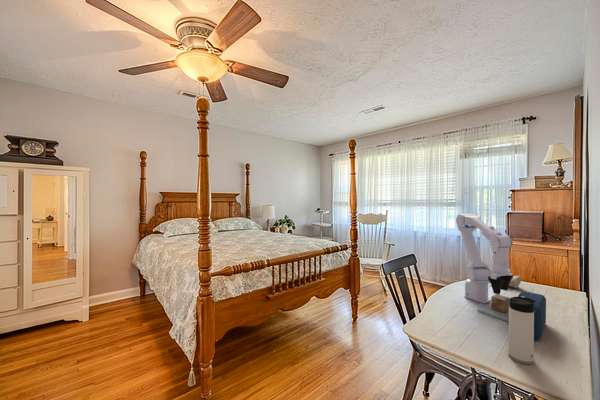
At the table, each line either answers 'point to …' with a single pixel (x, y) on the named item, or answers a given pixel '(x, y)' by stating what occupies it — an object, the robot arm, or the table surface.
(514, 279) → the ceramic sculpture
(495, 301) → the walnut block
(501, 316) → the board
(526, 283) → the table surface
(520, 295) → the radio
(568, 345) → the table surface
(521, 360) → the travel mug
